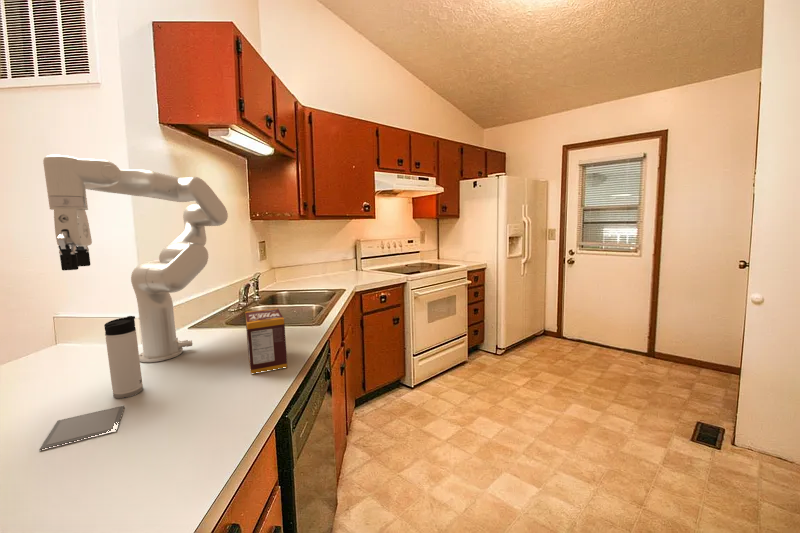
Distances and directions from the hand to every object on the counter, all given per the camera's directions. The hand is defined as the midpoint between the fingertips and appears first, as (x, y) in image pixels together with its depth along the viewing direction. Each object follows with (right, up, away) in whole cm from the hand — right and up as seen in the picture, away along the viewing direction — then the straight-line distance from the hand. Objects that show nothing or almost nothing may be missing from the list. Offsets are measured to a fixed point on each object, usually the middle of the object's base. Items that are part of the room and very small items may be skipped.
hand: (77, 267), depth 96 cm
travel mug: (+16, -33, -3) cm, 37 cm away
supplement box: (+46, -30, +16) cm, 57 cm away
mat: (+19, -35, -18) cm, 44 cm away
